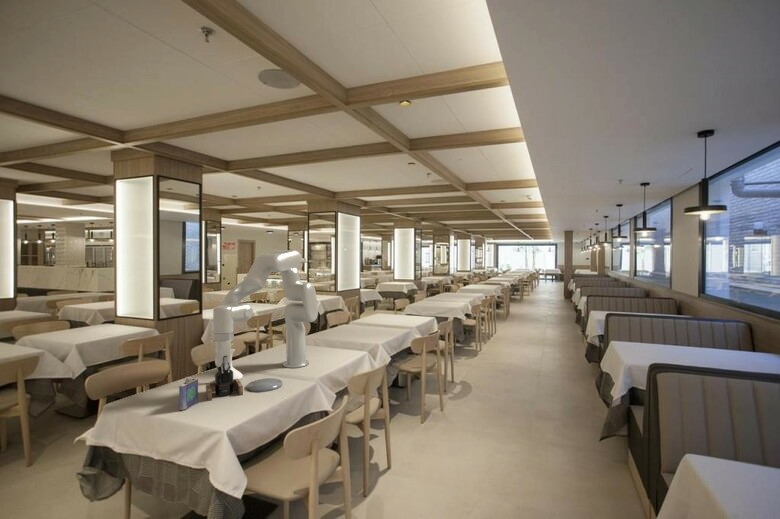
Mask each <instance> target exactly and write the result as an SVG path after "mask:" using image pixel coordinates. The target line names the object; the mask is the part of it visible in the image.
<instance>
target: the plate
mask: <svg viewBox="0 0 780 519" xmlns="http://www.w3.org/2000/svg"><path fill="white" fill-rule="evenodd" d="M282 386H283V381H282V380H281V379H279V378H275V377H274V378H260V379H256V380H253V381H250V382H248V384H246V387H247V388H246V389H247V390H248V391H249V390H250V391H249V392H252V391H253V392H255V393H265V392H272V391H274V390H278V389H279V388H281V387H282Z"/></svg>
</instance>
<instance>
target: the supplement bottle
mask: <svg viewBox="0 0 780 519" xmlns="http://www.w3.org/2000/svg"><path fill="white" fill-rule="evenodd" d="M216 368H217V369H216V370H217V371H216V372H215V373H214V382H215V392H214V393H215V394H214V395H215V396H216V397H220V398H221V397H228V395H229V396H231V395H233V394H234V389H235V388H234V385H233V371H232V370H231V369H230V368H231V367H230V366H229V372H230V382H229V383H221V373H222V372H221V366H219V368H218V367H217V366H216ZM223 368H224V367H223Z"/></svg>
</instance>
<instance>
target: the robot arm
mask: <svg viewBox="0 0 780 519" xmlns="http://www.w3.org/2000/svg"><path fill="white" fill-rule="evenodd" d="M302 261H303V257H302V254H301V252H299V251H298V250H294V249H291V250H290V249H287V250H285V249H282V250H279V249H278V250H272V251H270V252H269V253H262V254H258V255H257V257H256V258H255V260H254V261H253V263H252V265H251V267H250V268H249V271H248V272H247V274H246V276H245V278H244V279H243V280H242V281H241V282H239V283H238V284H237V285H235V286H234V287H233V288H232V289H230V290H229V291H228V292H227V294H226V295H225V297H224V298H223V300H222V302H221V304H220V305H216V306H215V307H214V308H213V312H212V316H213V317H212V319H213V320H212V321H213V322H212V323H213V324H212V327H213V330H212V331H213V340H212V341H213V342H214V343H215V346H216V347H215V346H214V347H215V349H214V350H215V351H214V355H215V356H214V363H215V364H214V365H215V366H216V368H217V367H218V368H219V366H221V372H222V373H221V383H229V382H230V372H229V366H230V365H231V349H232V346H231V342H233V341H234V340H235V338H234V336H235V335H234V333H235V329H234V323H244V322H247V321H249V320H251V318H252V317H253V314H254V309H253V308H252V306H251V305H249V304H248V303H247V304H246V303H243V302H241V301H242V300H243V299H245V298H246V297H248V296H250V295H252V294H256V293H257V292H259V291H261V290H263V288H264V286H265V284H266V283H267V280H268V279H269V277H270V274H271V273H280V276H281V280H282V287H283V293H284V297H285V299H286V300H288V301H293V302H289V303H287V304H286V305H285V306H284V308H283V316H284V321H285V333H286V334H285V336H286V338H285V340H286V343H285V344H286V356H285V357H286V361H284V362H283V367H284V368H289V369H296V368H303V367H307V366H308V365H309V364H310V361H309V360H308V359H307V358H306V357H307V354H306V352H307V350H306V349H307V348H306V327H305V324H304V323H313V322H315V321H316V320H317V318H318V316H319V306H318V298H317V292H316V288H315V286H314V285H313V283H311V282H308V281H301V277H300V272H299V270H298V267H300V266H301V265H302ZM294 301H295V302H294ZM240 302H241V303H240ZM223 367H224V368H223Z"/></svg>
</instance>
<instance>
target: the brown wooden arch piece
mask: <svg viewBox="0 0 780 519" xmlns="http://www.w3.org/2000/svg"><path fill="white" fill-rule="evenodd" d="M233 385H234V389H237V390H236V391H237V394H238V395H239V396H243V395H244V390H243V389H244V386H243V384H242V382H241V380H239V379H233ZM212 393H215V381H214V382H208V383H205V394H206V398H207V400H208V402H210V401H213V394H212Z"/></svg>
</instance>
